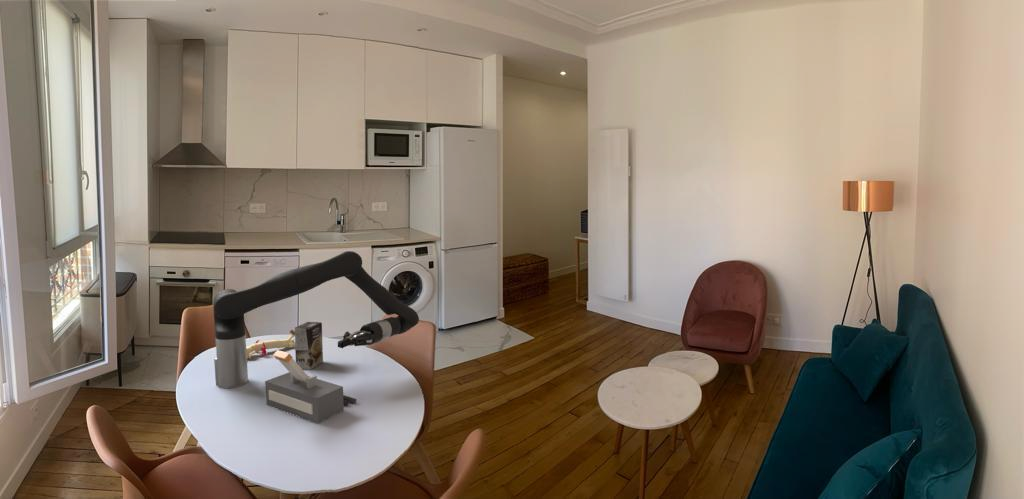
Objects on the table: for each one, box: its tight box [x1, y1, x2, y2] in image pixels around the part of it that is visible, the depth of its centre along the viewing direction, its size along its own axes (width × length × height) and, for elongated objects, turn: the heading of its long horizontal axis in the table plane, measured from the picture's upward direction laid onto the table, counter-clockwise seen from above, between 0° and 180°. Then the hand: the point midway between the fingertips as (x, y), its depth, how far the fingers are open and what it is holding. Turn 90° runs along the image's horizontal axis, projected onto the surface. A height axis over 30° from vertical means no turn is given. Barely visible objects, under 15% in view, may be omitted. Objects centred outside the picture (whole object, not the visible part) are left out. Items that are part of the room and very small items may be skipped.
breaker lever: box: [272, 349, 309, 383], centre depth 160 cm, size 2×6×14 cm
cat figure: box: [246, 329, 295, 359], centre depth 214 cm, size 10×9×25 cm
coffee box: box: [294, 321, 324, 370], centre depth 201 cm, size 9×6×16 cm
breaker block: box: [264, 371, 357, 424], centre depth 167 cm, size 17×24×11 cm
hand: (339, 344), depth 176 cm, fingers closed
